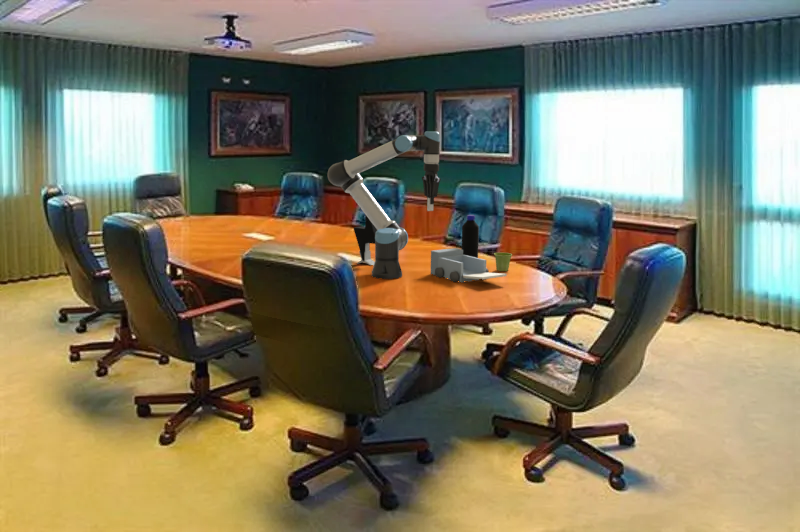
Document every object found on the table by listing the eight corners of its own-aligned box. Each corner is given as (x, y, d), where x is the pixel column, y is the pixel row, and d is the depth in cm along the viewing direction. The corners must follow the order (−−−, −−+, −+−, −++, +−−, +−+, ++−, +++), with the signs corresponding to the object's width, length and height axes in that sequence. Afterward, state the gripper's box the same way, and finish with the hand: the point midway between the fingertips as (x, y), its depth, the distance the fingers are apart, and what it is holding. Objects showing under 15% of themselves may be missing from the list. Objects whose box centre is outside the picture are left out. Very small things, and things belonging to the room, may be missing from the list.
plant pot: (515, 270, 370) (515, 254, 368) (504, 272, 363) (505, 256, 362) (500, 267, 376) (500, 251, 375) (489, 270, 369) (490, 254, 368)
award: (381, 264, 382) (381, 209, 376) (376, 266, 377) (376, 210, 372) (358, 261, 390) (358, 207, 384) (353, 263, 385) (353, 208, 380)
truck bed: (456, 283, 338) (457, 258, 335) (426, 274, 357) (427, 251, 355) (489, 278, 349) (490, 254, 347) (458, 270, 368) (459, 247, 366)
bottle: (467, 265, 382) (468, 213, 377) (480, 267, 377) (482, 215, 372) (457, 267, 376) (459, 215, 370) (471, 269, 370) (473, 216, 365)
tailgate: (461, 278, 338) (482, 280, 326) (461, 275, 338) (482, 277, 326) (485, 275, 347) (506, 276, 334) (485, 272, 347) (506, 273, 334)
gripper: (445, 163, 345) (444, 211, 350) (429, 162, 356) (428, 209, 361) (433, 163, 341) (431, 212, 346) (417, 162, 352) (416, 209, 357)
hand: (430, 210), depth 353 cm, fingers closed
